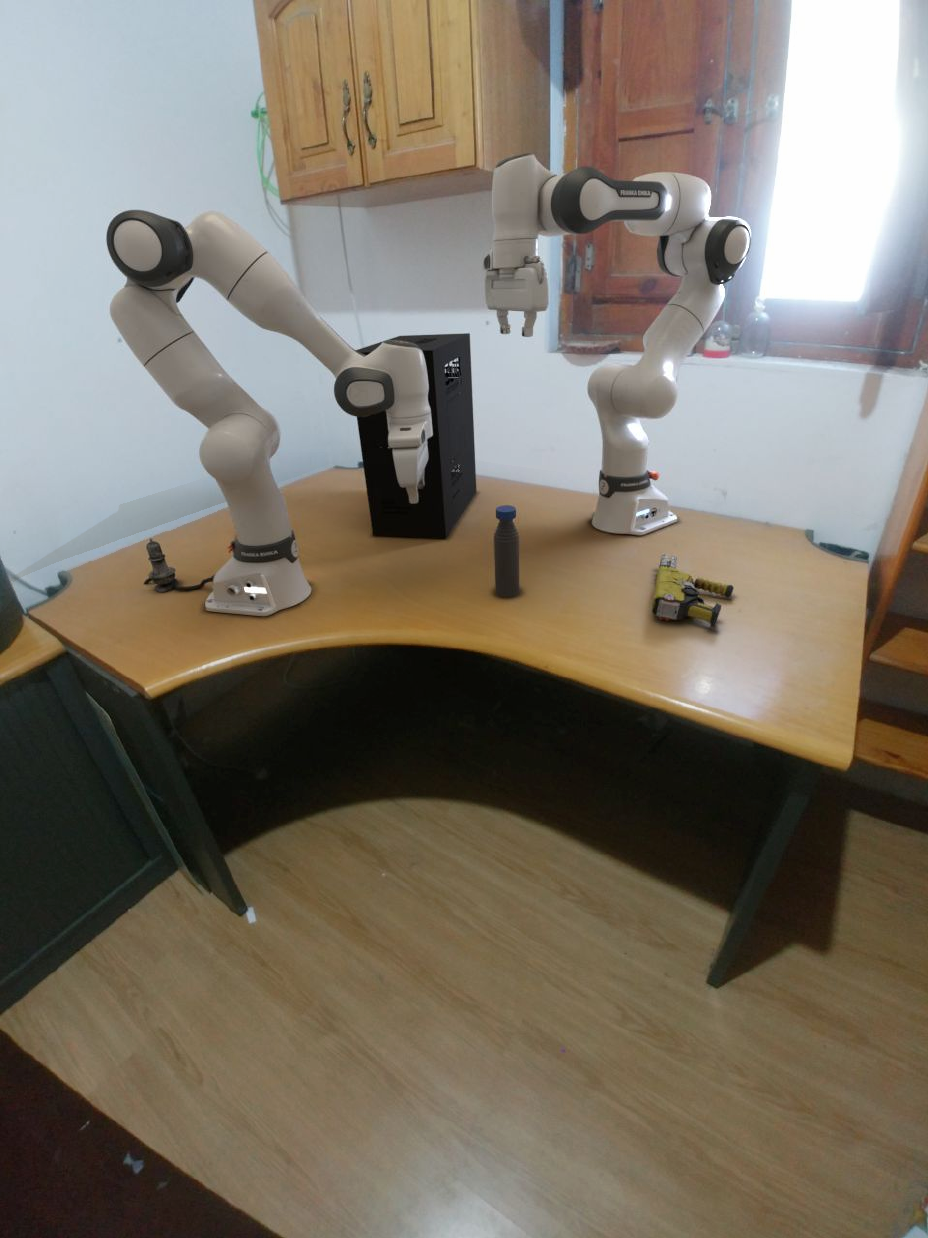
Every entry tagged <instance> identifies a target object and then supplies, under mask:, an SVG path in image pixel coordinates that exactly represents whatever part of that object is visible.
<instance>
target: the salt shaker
mask: <svg viewBox="0 0 928 1238" xmlns="http://www.w3.org/2000/svg"><path fill="white" fill-rule="evenodd" d="M145 549H146V551H147V554H148V558H147V560H148V561H149V562H150V564H151V567H152V571H150V572H149V573H148V574H147V576H148V578H151V580H152V581H151V582H152V583H153V584H155V586H154V587H153V590H154V592H159V593H163V592H169V591H172V590H174V589H175V588H174V581H173V580H174V578H175V579H176V571H177V570H176V568H175V567H172V566H168V565H169V564H167V561H166V554H164V552H163V550H162V547H161V544H160V543H159V542H158V541H154V540H153V539H152V538H149V542H148V543H146V545H145ZM178 586H180V585H179V582H178Z"/></svg>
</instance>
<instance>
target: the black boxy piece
mask: <svg viewBox="0 0 928 1238" xmlns="http://www.w3.org/2000/svg"><path fill="white" fill-rule="evenodd" d="M386 340H402V341H408V342H412V343H414V344H416V345H417V346H418V347H419V348H420V349H421V350H422V352H423V354H424V358H425V362H426V368H427V375H428V384H429V391H428V403H429V406H430V409H431V418H432V430H433V436H432V437H430V438H428V439H427V442H428V444H427V446H428V462H427V464H426V466H425V469H424V487H423V489H417V491H418V495H419V501H418V503H413V504H411V503H410V502H409V495H408V492H407V490H406V487H400V485H399V483H398V479H397V475H396V470H395V464H394V459H393V448H390V447H389V444H388V434H389V431H388V422H387V414H386V411H382V412H379V413H376V414H372V415H369V416H365V417H356V420H357V429H358V437H359V442H360V450H361V451H360V452H361V458H362V465H363V473H364V482H365V487H366V495H367V502H368V509H369V518H370V524H371V525H370V526H371V532H372V536H377V537H378V536H379V537H398V538H399V537H400V538H423V539H424V538H425V539H443V540H444V539H445V540H446V539H447V538H448V537H449V535H450V533H451V532H452V530H453V529H454V528H455V526H456V524H457V523H458V521H459V520H460V518H461V517H462V515H463V514H464V512H465V511H466V509H467V507H468V506H469V505H470V503H471V502H472V500H473V498H474V497H475V495H476V494H477V471H476V470H477V469H476V448H475V446H476V445H475V426H474V424H475V423H474V422H475V421H474V401H473V377H472V355H471V352H472V351H471V334H470V333H469V332H467V333H440V334H439V333H437V334H413V335H412V334H410V335H398V336H395V337H392V338H389V339H385V340H383V341H386ZM383 341H380V342H377V343H373V344H370V345H366V346H364V347H361V348H358V349H355V350H356V351H358V352H360V353H362V354H364V355H368V354H370V353H371V352H373V351H374V350H375V349H377V348H378V347H379V346H380V345H381V344H382V342H383ZM450 364H451V365H450Z"/></svg>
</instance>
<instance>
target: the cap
mask: <svg viewBox="0 0 928 1238" xmlns="http://www.w3.org/2000/svg"><path fill="white" fill-rule="evenodd" d="M516 517H517V508H516V507H515V506H513V505H508V504H505V505H499V506H497V507H496V508H495V518H496V519H497V520H498V521H499V520H503V521H508V520H513V521H514V520H515V519H516Z"/></svg>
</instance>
